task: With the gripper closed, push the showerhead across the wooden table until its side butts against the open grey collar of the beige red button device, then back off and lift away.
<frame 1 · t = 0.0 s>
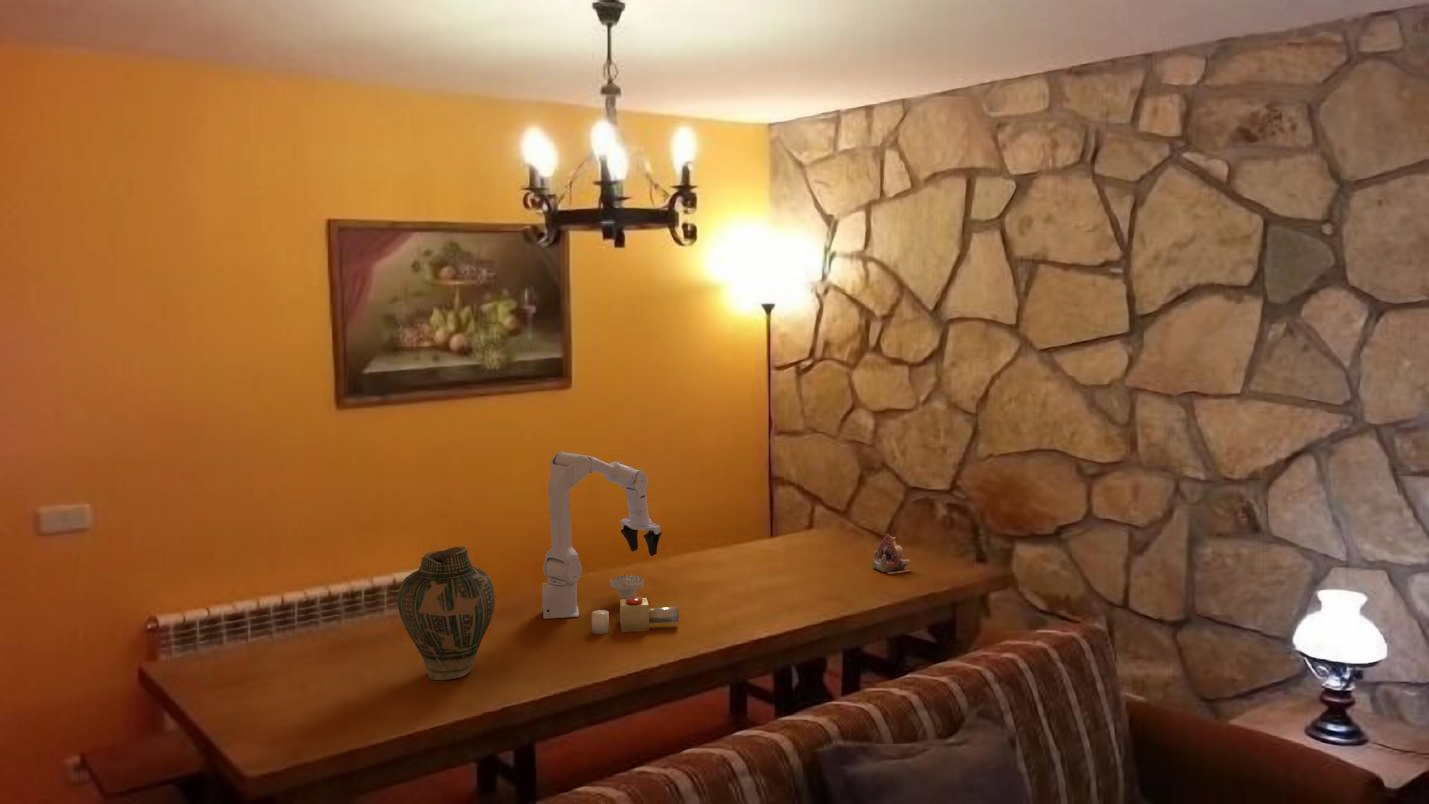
hand: (644, 552, 336), 11 cm above the table, tool pointing down, fingers open, 7 cm apart
grey pink figurine: (889, 569, 356), on the table
pvc coupling: (600, 631, 299), on the table
beige red button device: (633, 624, 304), on the table
showerhead: (627, 603, 323), on the table
vase: (449, 674, 270), on the table
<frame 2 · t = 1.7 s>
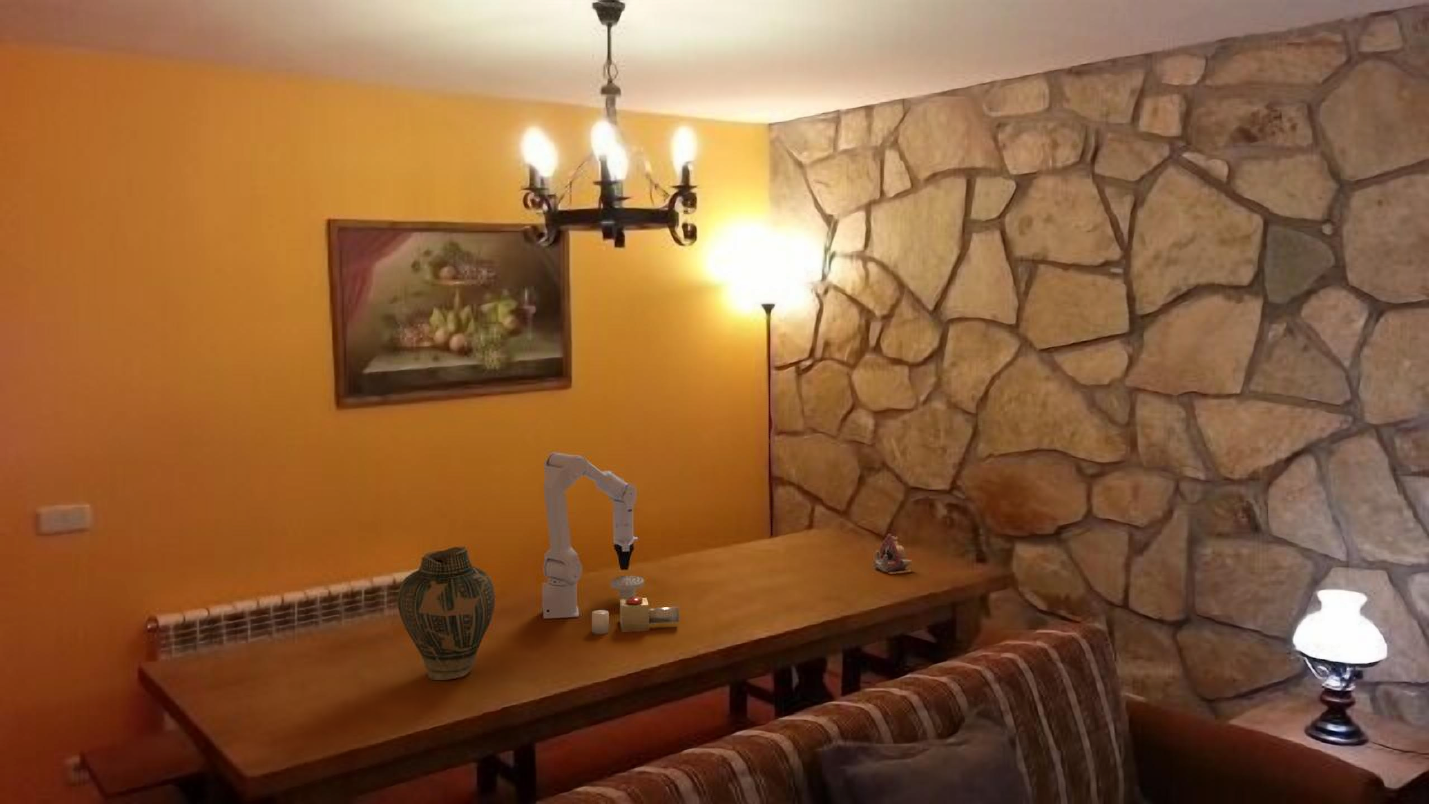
hand: (624, 569, 331), 7 cm above the table, tool pointing down, fingers closed
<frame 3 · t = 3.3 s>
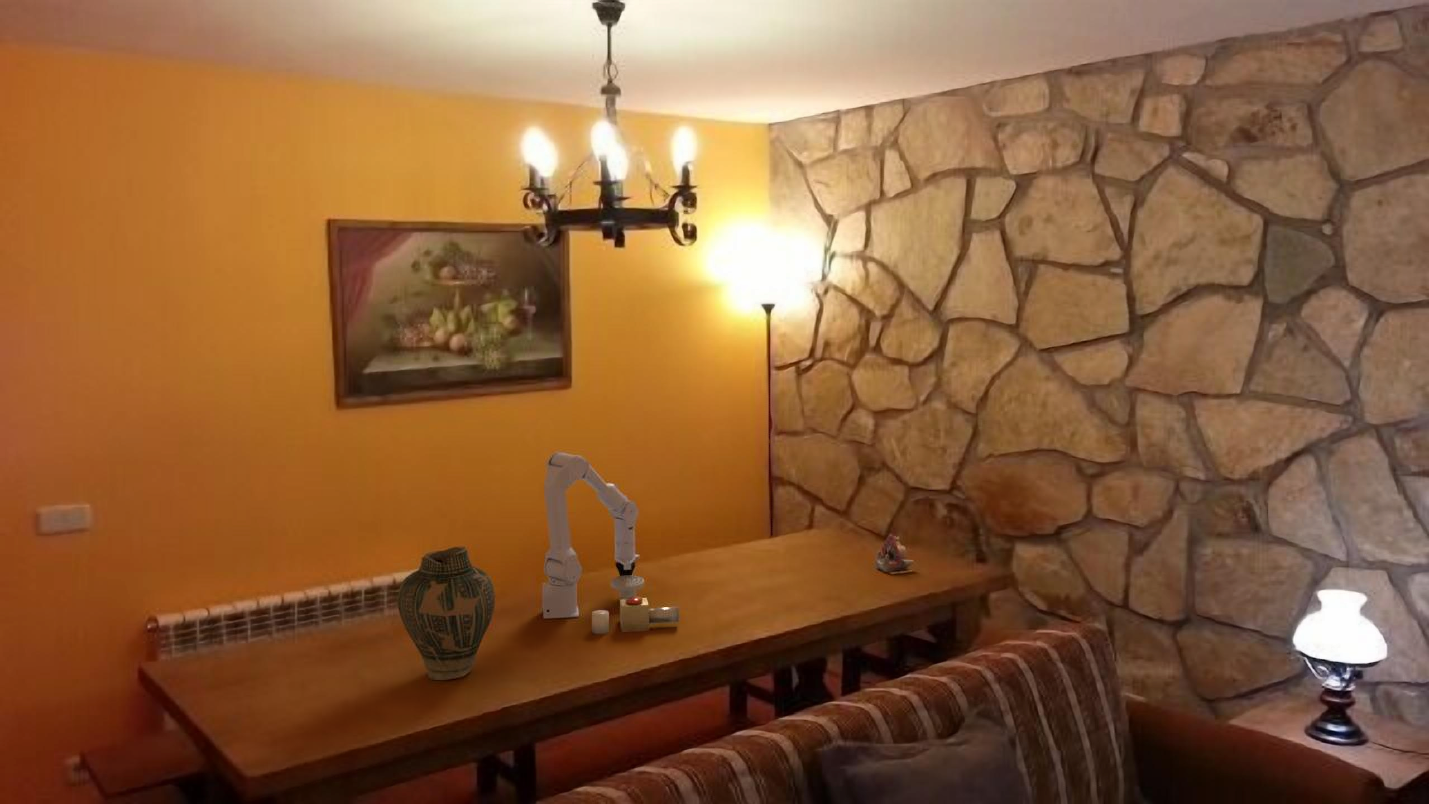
hand: (625, 587, 329), 3 cm above the table, tool pointing down, fingers closed
showerhead: (627, 603, 323), on the table, touching gripper
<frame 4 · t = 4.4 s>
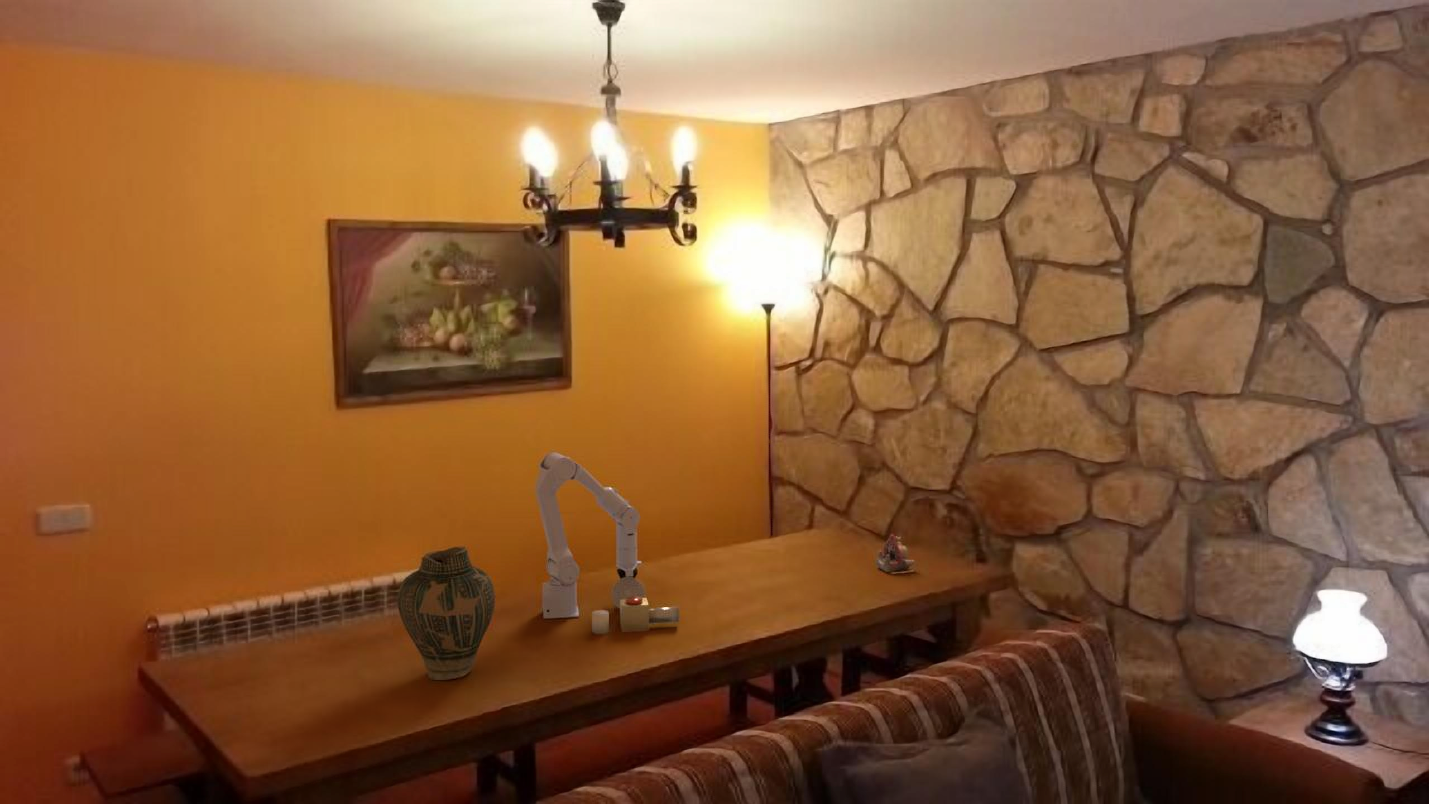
hand: (627, 594, 322), 2 cm above the table, tool pointing down, fingers closed
showerhead: (628, 601, 322), point 1 cm above the table, touching gripper
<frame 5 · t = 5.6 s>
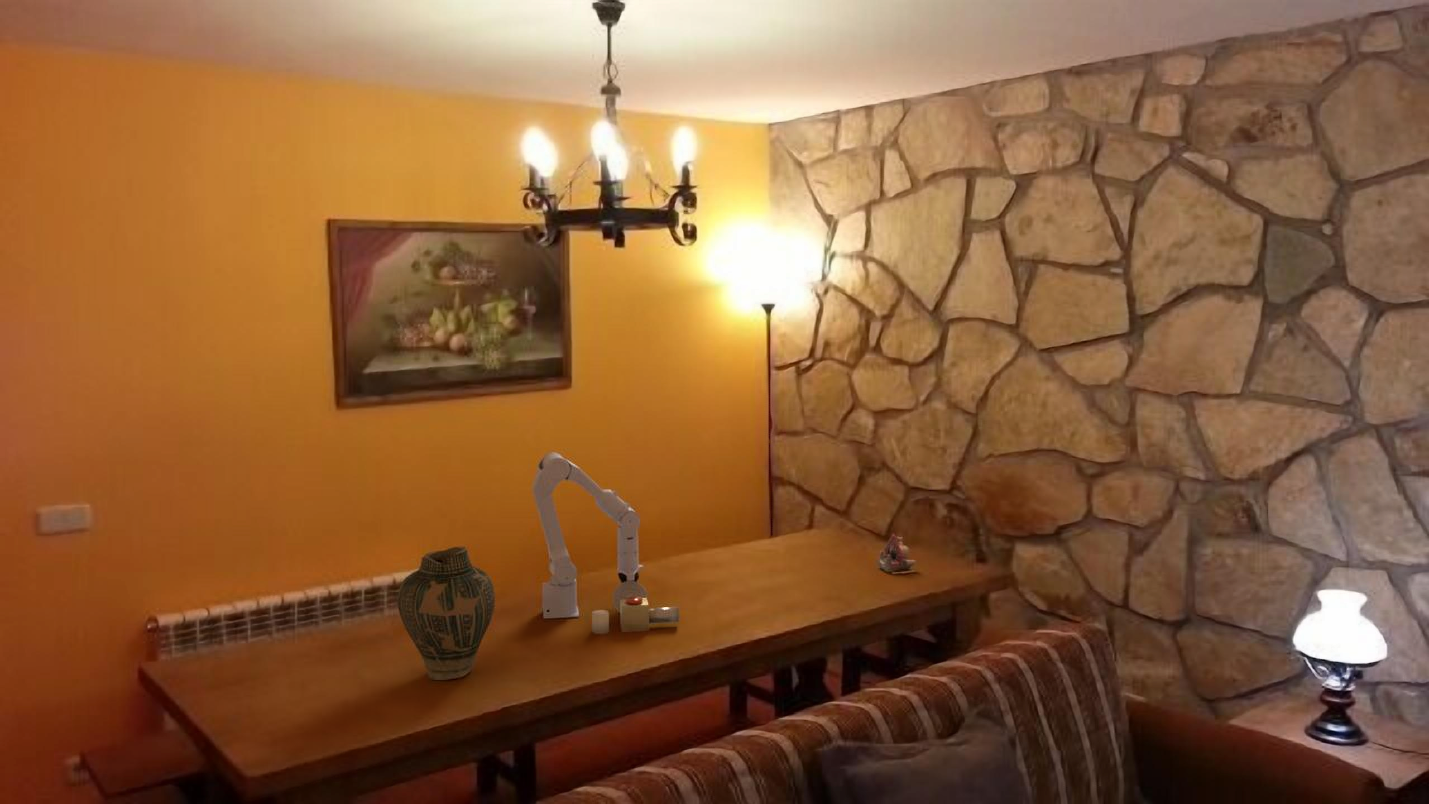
hand: (628, 598, 318), 2 cm above the table, tool pointing down, fingers closed
showerhead: (629, 605, 318), point 1 cm above the table, touching gripper, beige red button device
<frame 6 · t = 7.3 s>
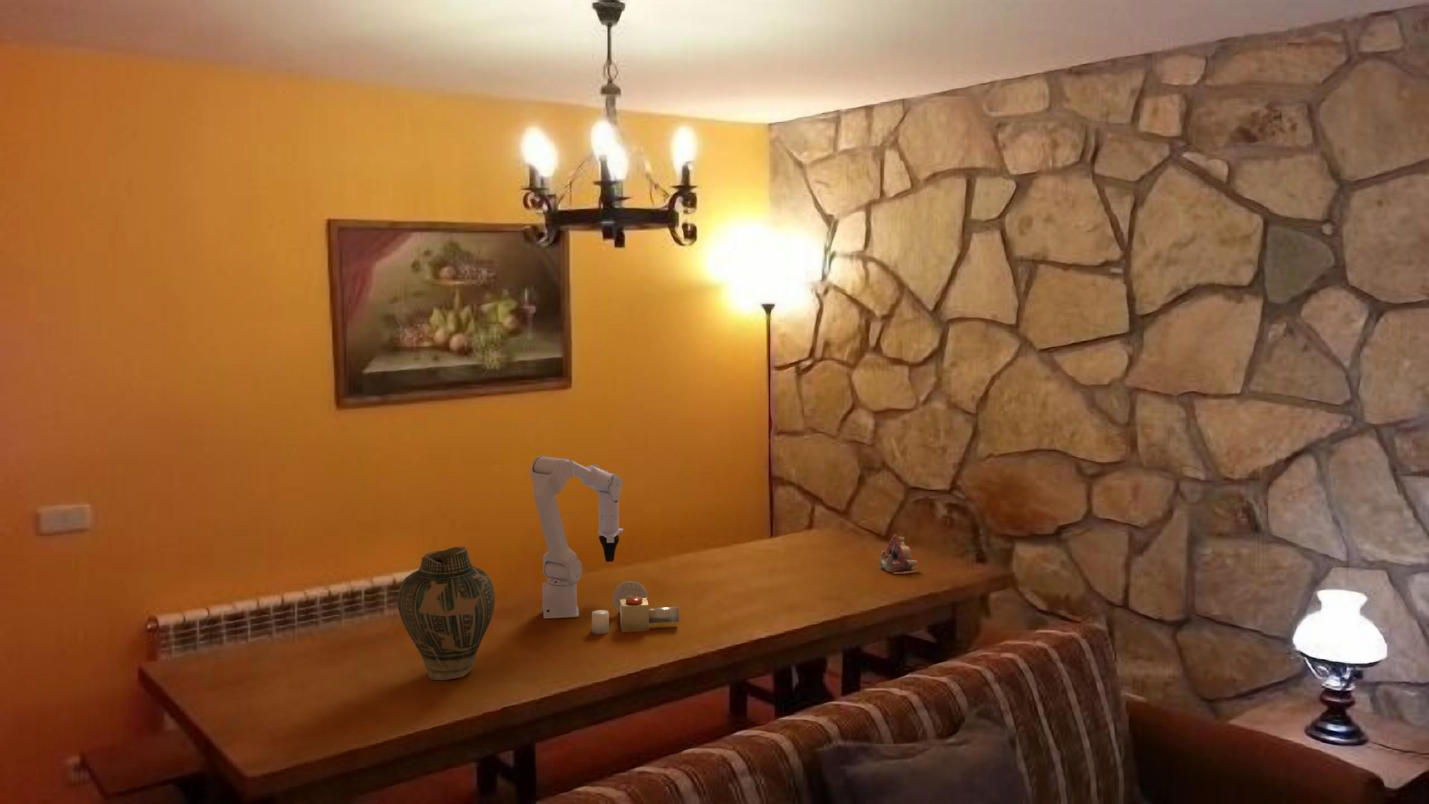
hand: (609, 561, 329), 10 cm above the table, tool pointing down, fingers closed
showerhead: (629, 606, 318), point 1 cm above the table
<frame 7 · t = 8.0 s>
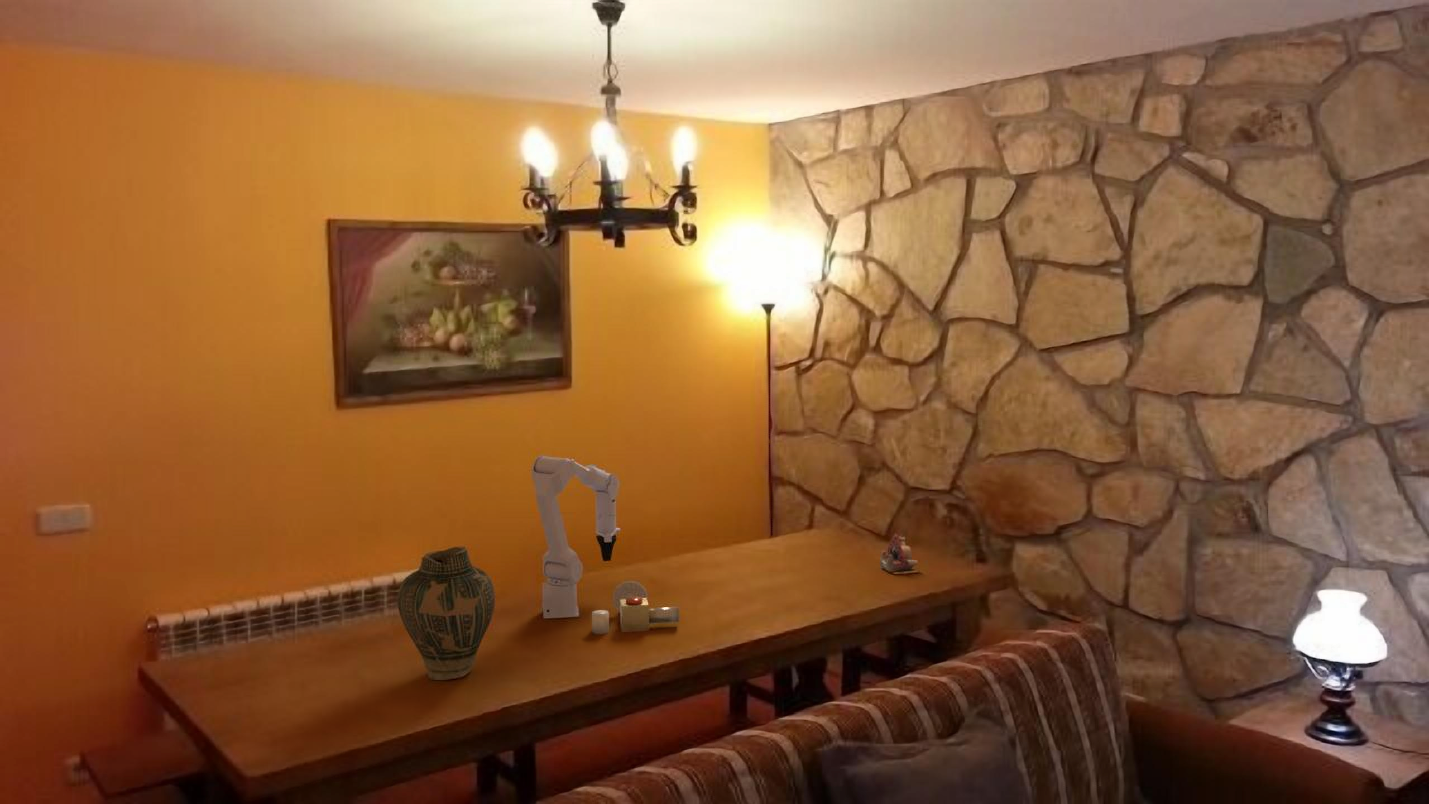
hand: (606, 560, 330), 10 cm above the table, tool pointing down, fingers closed
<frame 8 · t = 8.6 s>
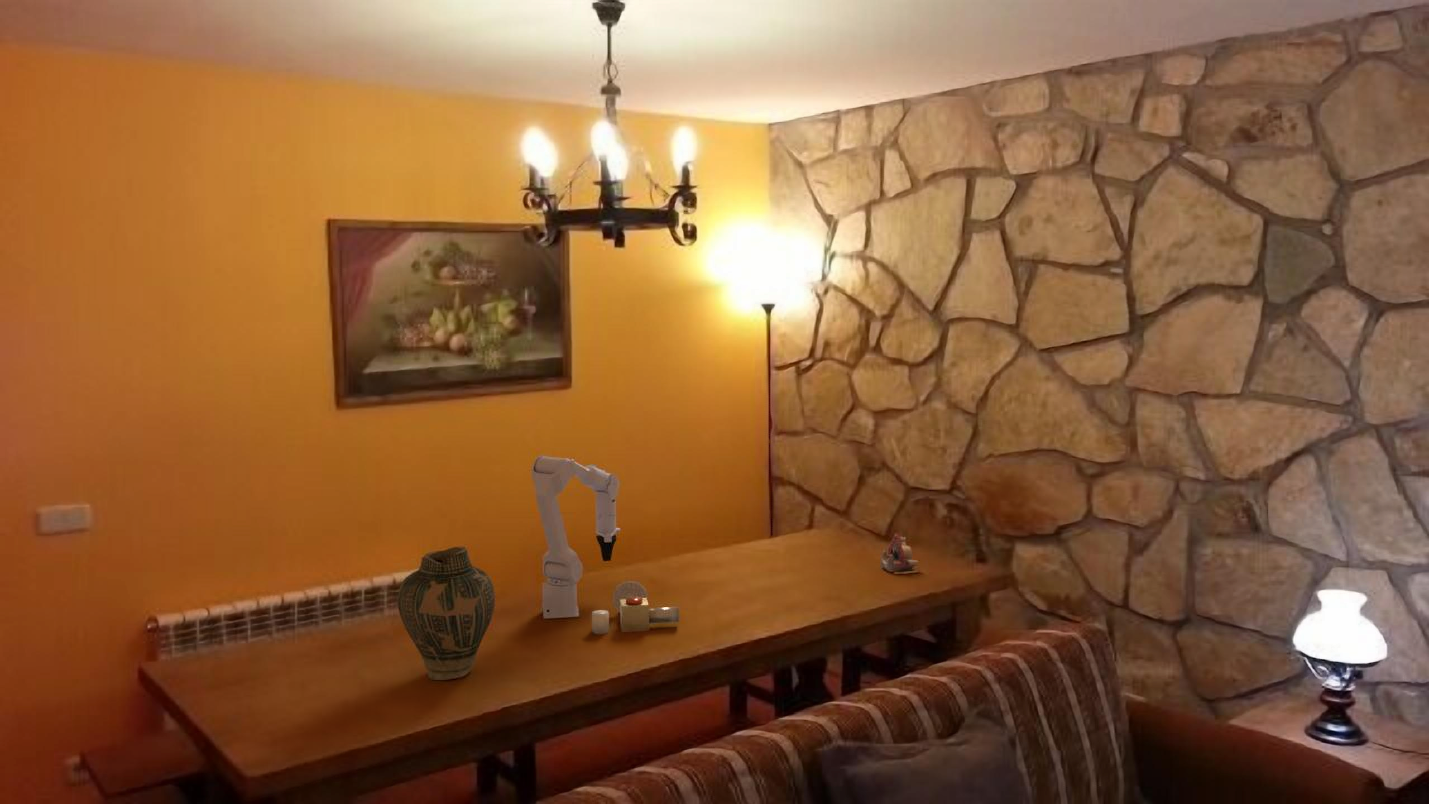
hand: (606, 560, 330), 10 cm above the table, tool pointing down, fingers closed
at the end: showerhead inside the target area (2.7 cm from its centre), point 0.5 cm above the table; showerhead moved 5.1 cm from its start; the gripper is holding nothing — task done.
